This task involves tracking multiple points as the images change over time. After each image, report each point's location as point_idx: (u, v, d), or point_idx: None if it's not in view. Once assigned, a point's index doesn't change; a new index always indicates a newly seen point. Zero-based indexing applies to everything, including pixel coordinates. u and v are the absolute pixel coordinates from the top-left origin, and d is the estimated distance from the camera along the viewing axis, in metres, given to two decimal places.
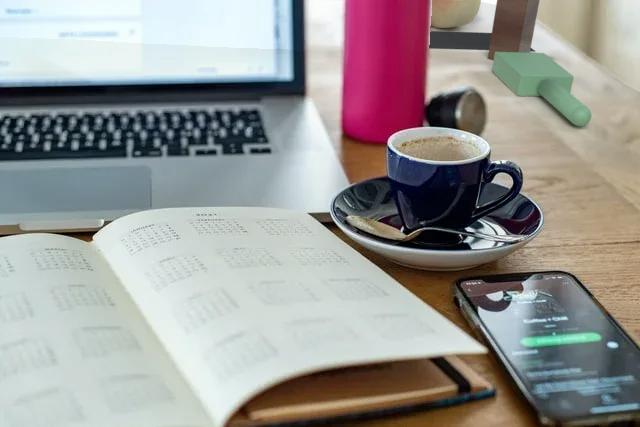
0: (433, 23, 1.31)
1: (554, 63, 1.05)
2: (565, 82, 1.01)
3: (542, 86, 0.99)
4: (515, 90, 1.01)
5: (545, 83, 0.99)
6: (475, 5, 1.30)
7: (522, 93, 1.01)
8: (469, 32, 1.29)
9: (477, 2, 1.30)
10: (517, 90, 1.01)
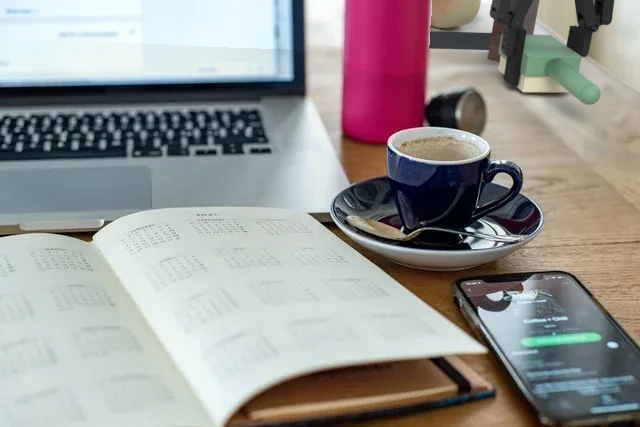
0: (433, 23, 1.31)
1: (561, 44, 1.03)
2: (572, 62, 1.00)
3: (550, 66, 0.98)
4: (522, 71, 1.00)
5: (553, 63, 0.98)
6: (475, 5, 1.30)
7: (529, 74, 0.99)
8: (469, 32, 1.29)
9: (477, 2, 1.30)
10: (524, 71, 0.99)
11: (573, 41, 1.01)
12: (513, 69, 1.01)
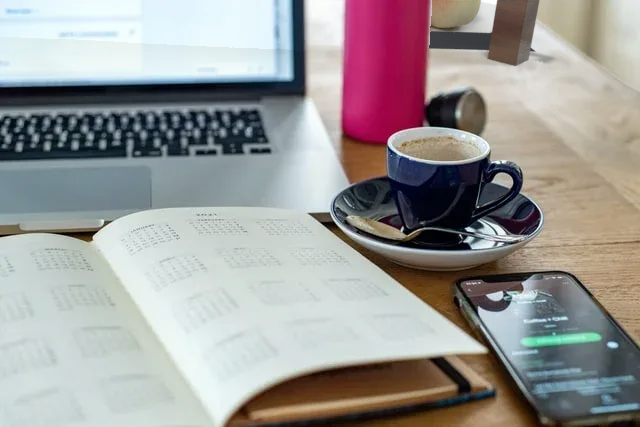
0: (433, 23, 1.31)
1: None
2: None
3: None
4: None
5: None
6: (475, 5, 1.30)
7: None
8: (469, 32, 1.29)
9: (477, 2, 1.30)
10: None
11: None
12: None
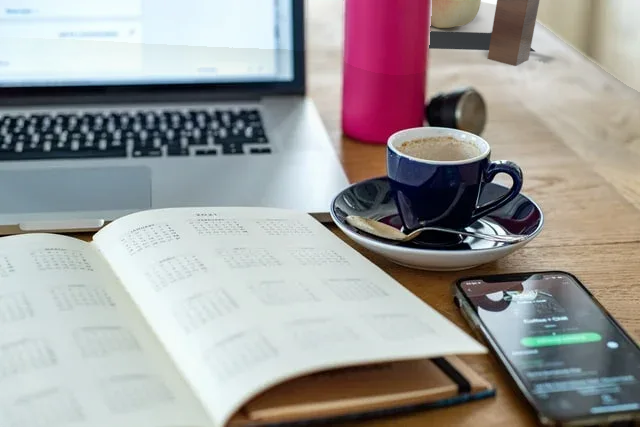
0: (433, 23, 1.31)
1: None
2: None
3: None
4: None
5: None
6: (475, 5, 1.30)
7: None
8: (469, 32, 1.29)
9: (477, 2, 1.30)
10: None
11: None
12: None
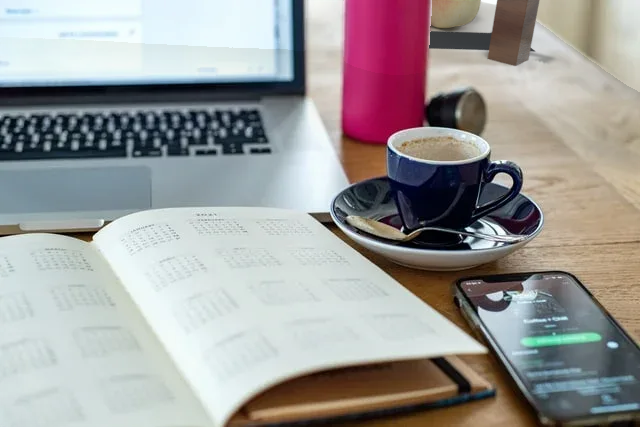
0: (433, 23, 1.31)
1: None
2: None
3: None
4: None
5: None
6: (475, 5, 1.30)
7: None
8: (469, 32, 1.29)
9: (477, 2, 1.30)
10: None
11: None
12: None
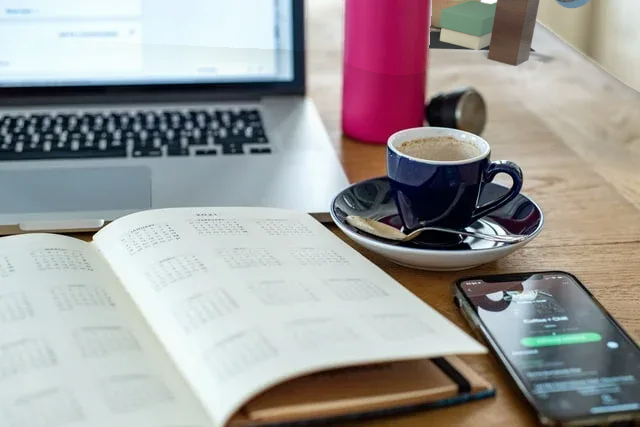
0: (433, 23, 1.31)
1: (458, 5, 1.24)
2: None
3: None
4: None
5: None
6: None
7: None
8: None
9: None
10: None
11: None
12: None
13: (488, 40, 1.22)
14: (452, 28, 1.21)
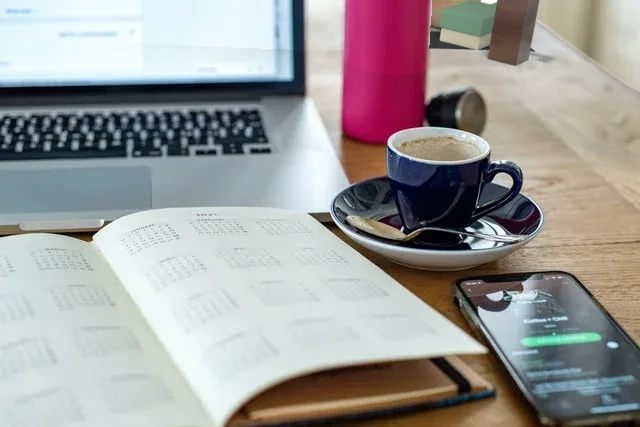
0: (433, 23, 1.31)
1: (458, 5, 1.24)
2: None
3: None
4: None
5: None
6: None
7: None
8: None
9: None
10: None
11: None
12: None
13: (488, 40, 1.22)
14: (452, 28, 1.21)
